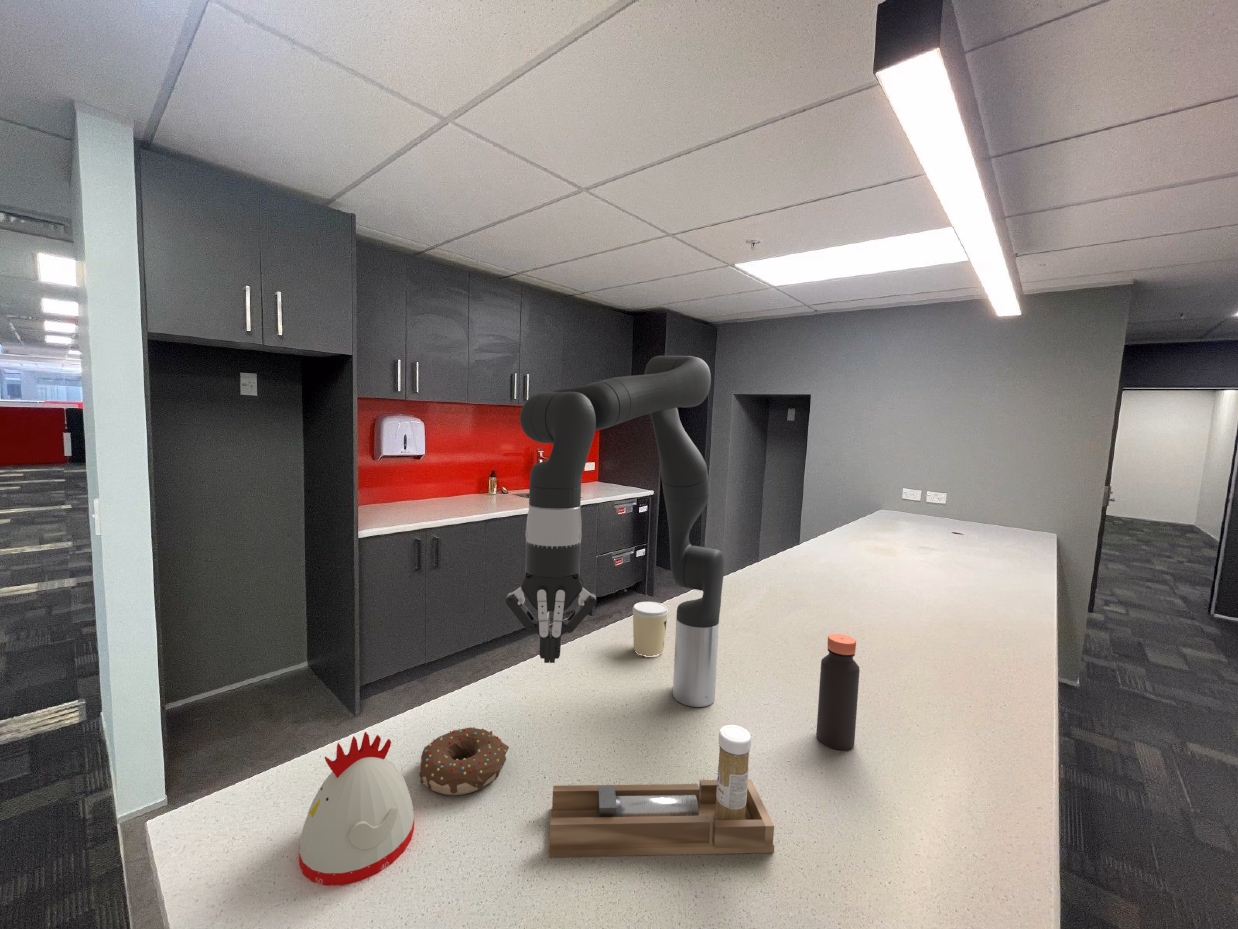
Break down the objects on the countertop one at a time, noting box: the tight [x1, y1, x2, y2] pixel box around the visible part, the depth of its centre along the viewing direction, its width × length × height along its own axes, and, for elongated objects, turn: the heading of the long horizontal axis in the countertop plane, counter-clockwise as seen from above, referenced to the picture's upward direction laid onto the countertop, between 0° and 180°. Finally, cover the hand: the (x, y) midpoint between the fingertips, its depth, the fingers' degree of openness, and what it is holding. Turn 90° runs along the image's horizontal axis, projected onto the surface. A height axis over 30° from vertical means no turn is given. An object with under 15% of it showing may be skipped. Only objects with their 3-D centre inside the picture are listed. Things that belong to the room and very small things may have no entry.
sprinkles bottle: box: [715, 724, 752, 820], centre depth 74 cm, size 5×5×13 cm
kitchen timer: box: [298, 731, 415, 886], centre depth 69 cm, size 14×14×15 cm
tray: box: [548, 778, 775, 858], centre depth 73 cm, size 9×31×4 cm, turn 94°
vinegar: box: [816, 633, 860, 751], centre depth 96 cm, size 7×7×20 cm
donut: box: [418, 726, 510, 796], centre depth 83 cm, size 14×14×5 cm
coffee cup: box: [632, 601, 669, 656], centre depth 133 cm, size 9×9×12 cm
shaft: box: [597, 786, 699, 817], centre depth 73 cm, size 4×14×4 cm, turn 94°
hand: (549, 660), depth 70 cm, fingers closed
